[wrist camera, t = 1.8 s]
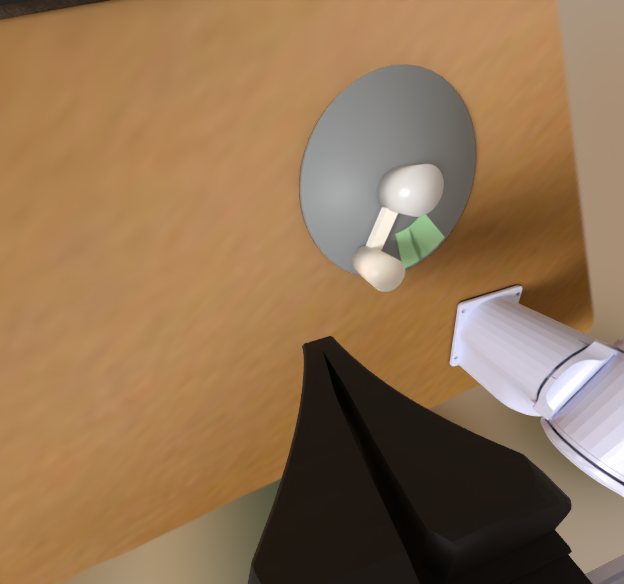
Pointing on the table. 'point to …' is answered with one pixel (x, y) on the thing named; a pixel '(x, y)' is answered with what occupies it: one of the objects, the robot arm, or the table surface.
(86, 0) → the phone
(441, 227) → the dial plate
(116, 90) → the table surface
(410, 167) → the tuning lever
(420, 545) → the robot arm
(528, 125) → the table surface
